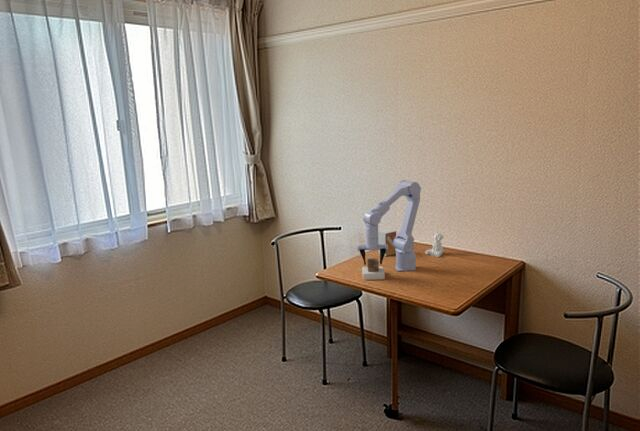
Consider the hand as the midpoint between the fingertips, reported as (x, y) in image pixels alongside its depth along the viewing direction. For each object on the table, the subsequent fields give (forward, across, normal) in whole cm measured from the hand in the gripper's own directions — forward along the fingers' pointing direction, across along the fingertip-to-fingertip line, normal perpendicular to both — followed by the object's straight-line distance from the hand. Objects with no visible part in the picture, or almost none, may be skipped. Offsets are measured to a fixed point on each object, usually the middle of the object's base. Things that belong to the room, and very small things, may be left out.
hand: (372, 264), depth 225 cm
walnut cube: (+3, 0, 0) cm, 3 cm away
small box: (+6, -11, -34) cm, 36 cm away
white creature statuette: (+6, -37, -30) cm, 48 cm away
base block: (+6, 0, 0) cm, 6 cm away
